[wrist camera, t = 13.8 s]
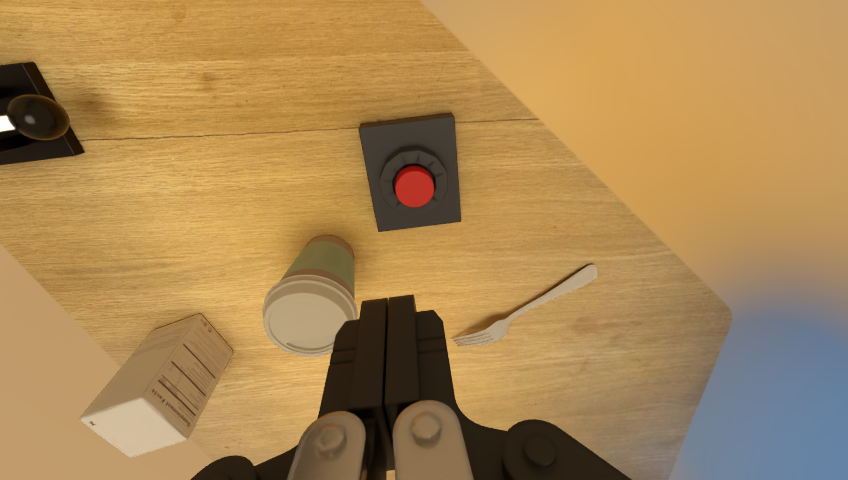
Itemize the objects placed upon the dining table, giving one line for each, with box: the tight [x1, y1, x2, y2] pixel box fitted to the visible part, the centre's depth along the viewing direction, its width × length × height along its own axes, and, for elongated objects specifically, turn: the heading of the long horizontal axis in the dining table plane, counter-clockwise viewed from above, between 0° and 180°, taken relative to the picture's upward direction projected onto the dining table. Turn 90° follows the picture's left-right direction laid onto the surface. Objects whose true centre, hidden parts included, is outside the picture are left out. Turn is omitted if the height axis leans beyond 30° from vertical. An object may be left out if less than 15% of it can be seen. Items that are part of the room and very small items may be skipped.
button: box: [395, 166, 434, 207], centre depth 35 cm, size 4×4×2 cm
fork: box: [452, 264, 598, 346], centre depth 48 cm, size 3×21×3 cm, turn 124°
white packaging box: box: [79, 314, 233, 457], centre depth 42 cm, size 7×7×13 cm
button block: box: [359, 113, 461, 232], centre depth 37 cm, size 11×9×4 cm
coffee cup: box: [263, 235, 358, 357], centre depth 38 cm, size 8×9×12 cm
